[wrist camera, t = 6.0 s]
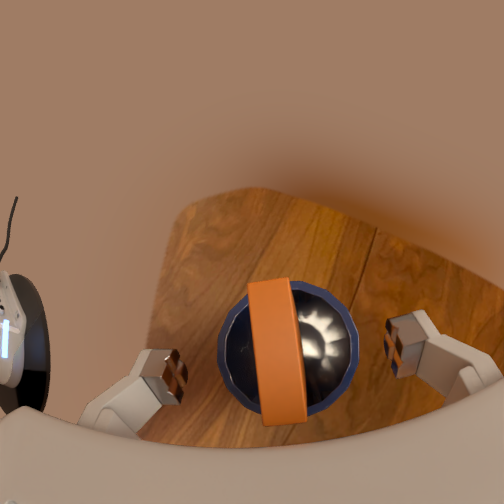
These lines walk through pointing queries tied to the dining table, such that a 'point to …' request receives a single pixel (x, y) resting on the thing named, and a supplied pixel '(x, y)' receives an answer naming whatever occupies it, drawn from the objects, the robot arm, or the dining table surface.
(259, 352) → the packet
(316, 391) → the blue cup
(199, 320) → the dining table surface
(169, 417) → the dining table surface
